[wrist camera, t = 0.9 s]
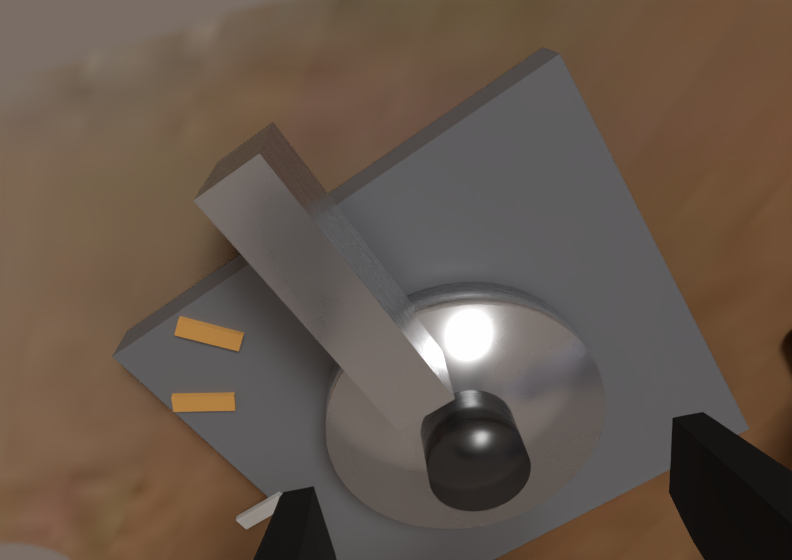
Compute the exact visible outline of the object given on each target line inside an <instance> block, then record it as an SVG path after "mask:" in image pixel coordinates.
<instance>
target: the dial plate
mask: <svg viewBox="0 0 792 560" xmlns="http://www.w3.org/2000/svg"><path fill="white" fill-rule="evenodd" d="M329 196H330V197H331V198H332V200H333V201H334V202H335V203H336V205H337V206H338V207H339V209H340V210H341V211H342V213H343V214H344V215H345V217H346V218H347V219H348V220H349V222H350V223H351V224H352V226H353V227H354V228H355V230H356V231H357V232H358V234H359V235H360V236H361V237H362V239H363V240H364V241H365V243H366V244H367V245H368V247H369V248H370V249H371V250H372V252H373V253H374V254H375V256H376V257H377V258H378V260H379V261H380V262H381V264H382V265H383V266H384V267H385V269H386V270H387V271H388V273H389V274H390V275H391V277H392V278H393V279H394V281H395V282H396V283H397V284H398V286H399V287H400V288H401V290H402V291H403V292H404V294H405V295H409V294H411V293H414V292H416V291H419V290H422V289H425V288H429V287H433V286H436V285H442V284H448V283H455V282H487V283H496V284H501V285H506V286H510V287H514V288H517V289H519V290H522V291H525V292H528V293H530V294H532V295H534V296H536V297H538V298H540V299H542V300H543V301H545V302H546V303H548V304H549V305H550V306H552V307H553V308H555V309H556V310H557V311H558V312H559V313H560V314H561V315H562V316H563V317H564V318H565V319H566V320H567V321H568V322H569V324H570V325H571V326H572V328H573V329H574V330H575V332H576V333H577V335H578V336H579V338H580V339H581V341H582V342H583V344H584V345H585V347H586V348H587V350H588V351H589V353H590V354H591V356H592V358H593V359H594V361H595V363H596V365H597V367H598V369H599V371H600V374H601V378H602V381H603V384H604V390H605V398H606V407H605V418H604V423H603V428H602V431H601V434H600V437H599V439H598V442H597V444H596V446H595V448H594V450H593V452H592V454H591V456H590V457H589V459H588V460H587V461H586V463H585V464H584V466H583V467H582V469H581V470H580V471H579V472H578V473H577V474H576V475H575V476H574V478H573V479H572V480H571V481H570V482H569V483H567V484H566V485H565V486H564V487H563V488H562V489H561V490H560V491H558V492H557V493H556V494H554V495H553V496H552V497H550V498H549V499H547V500H546V501H544V502H543V503H541V504H539V505H537V506H536V507H534V508H532V509H530V510H528V511H526V512H524V513H522V514H520V515H517V516H515V517H512V518H509V519H506V520H503V521H500V522H496V523H492V524H489V525H484V526H478V527H472V528H461V529H435V528H427V527H419V526H415V525H411V524H406V523H403V522H400V521H397V520H394V519H391V518H389V517H387V516H385V515H383V514H381V513H379V512H377V511H375V510H373V509H372V508H370V507H369V506H367V505H366V504H364V503H363V502H362V501H361V500H359V499H358V498H357V497H356V496H355V495H354V494H352V492H351V491H350V490H349V489H348V488H347V487H346V486H345V484H344V483H343V482H342V480H341V479H340V477H339V476H338V474H337V472H336V471H335V469H334V466H333V464H332V462H331V459H330V456H329V452H328V448H327V444H326V398H327V388H328V382H329V378H330V375H331V371H332V368H333V366H334V364H335V360H334V359H333V357H332V356H331V355H330V354H329V353H328V352H327V351H326V350H325V348H324V347H323V346H322V345H321V344H320V343H319V342H318V341H317V339H316V338H315V337H314V336H313V335H312V334H311V333H310V331H309V330H308V329H307V328H306V327H305V326H304V325H303V324H302V322H301V321H300V320H299V319H298V318H297V317H296V316H295V315H294V313H293V312H292V311H291V310H290V309H289V308H288V307H287V306H286V304H285V303H284V302H283V301H282V300H281V299H280V298H279V297H278V295H277V294H276V293H275V292H274V291H273V290H272V289H271V288H270V286H269V285H268V284H267V283H266V282H265V281H264V280H263V279H262V277H261V276H260V275H259V274H258V273H257V272H256V271H255V269H254V268H253V267H252V266H251V265H250V264H249V263H248V262H247V260H246V259H245V258H244V257H243V256H242V255H241V254H240V255H238V256H237V257H235V258H234V259H232V260H231V261H229V262H228V263H227V264H225V265H224V266H222V267H221V268H219V269H218V270H216V271H215V272H213V273H212V274H210V275H209V276H208V277H206V278H205V279H203V280H202V281H200V282H199V283H197V284H196V285H194V286H193V287H191V288H190V289H188V290H187V291H186V292H184V293H183V294H181V295H180V296H178V297H177V298H175V299H174V300H172V301H171V302H169V303H168V304H166V305H165V306H164V307H162V308H161V309H159V310H158V311H156V312H155V313H153V314H152V315H150V316H149V317H147V318H146V319H144V320H143V321H142V322H140V323H139V324H137V325H136V326H134V327H133V328H131V329H130V330H128V331H127V332H126V334H125V336H124V337H123V339H122V341H121V342H120V344H119V346H118V348H117V349H116V351H115V353H114V354H113V356H112V357H114V358H115V359H116V360H117V361H118V362H119V363H120V364H121V365H122V366H123V367H125V368H126V369H127V370H128V371H129V372H130V373H131V374H132V375H133V376H135V377H136V378H137V379H138V380H139V381H140V382H141V383H142V384H143V385H144V386H146V387H147V388H148V389H149V390H150V391H151V392H152V393H153V394H154V395H156V396H157V397H158V398H159V399H160V400H161V401H162V402H163V403H164V404H166V405H167V406H168V407H169V408H170V409H171V410H172V411H173V412H174V413H175V414H177V415H178V416H179V417H180V418H181V419H182V420H183V421H184V422H185V423H187V424H188V425H189V426H190V427H191V428H192V429H193V430H194V431H195V432H197V433H198V434H199V435H200V436H201V437H202V438H203V439H204V440H205V441H206V442H208V443H209V444H210V445H211V446H212V447H213V448H214V449H215V450H216V451H218V452H219V453H220V454H221V455H222V456H223V457H224V458H225V459H226V460H228V461H229V462H230V463H231V464H232V465H233V466H234V467H235V468H236V469H237V470H239V471H240V472H241V473H242V474H243V475H244V476H245V477H246V478H247V479H249V480H250V481H251V482H252V483H253V484H254V485H255V486H256V487H257V488H259V489H260V490H261V491H262V492H263V493H264V494H265V495H266V496H267V497H268V498H267V499H265V500H264V501H262V502H260V503H258V504H257V505H255V506H253V507H252V508H250V509H248V510H246V511H245V512H243V513H241V514H240V515H238V516H237V517H236V521H237V522H238V523H239V524H241V525H242V526H243V527H244V528H245V529H246V530H247V529H248V528H250V527H252V526H253V525H255V524H257V523H259V522H260V521H262V520H264V519H266V518H267V517H269V516H271V515H273V513H274V510H275V508H276V505H277V502H278V500H279V497H280V496H281V495H282V493H283V492H286V491H292V490H297V489H302V488H307V487H312V486H314V489H315V492H316V495H317V498H318V501H319V504H320V507H321V510H322V514H323V517H324V520H325V523H326V526H327V529H328V532H329V535H330V539H331V542H332V545H333V548H334V551H335V554H336V559H337V560H494V559H496V558H498V557H500V556H502V555H504V554H506V553H508V552H510V551H512V550H514V549H516V548H518V547H520V546H522V545H524V544H526V543H527V542H529V541H531V540H533V539H535V538H537V537H539V536H541V535H543V534H545V533H547V532H549V531H551V530H553V529H555V528H557V527H559V526H561V525H563V524H565V523H566V522H568V521H570V520H572V519H574V518H576V517H578V516H580V515H582V514H584V513H586V512H588V511H590V510H592V509H594V508H596V507H598V506H600V505H602V504H604V503H605V502H607V501H609V500H611V499H613V498H615V497H617V496H619V495H621V494H623V493H625V492H627V491H629V490H631V489H633V488H635V487H637V486H639V485H641V484H643V483H644V482H646V481H648V480H650V479H652V478H654V477H656V476H658V475H660V474H662V473H664V472H666V471H668V470H670V463H671V440H672V418H673V417H679V416H684V415H689V414H694V413H700V412H704V413H706V414H707V415H709V416H710V417H712V418H713V419H715V420H716V421H718V422H719V423H721V424H722V425H723V426H725V427H726V428H728V429H729V430H731V431H732V432H734V433H735V434H737V435H738V434H740V433H742V432H744V431H746V430H748V429H749V427H748V425H747V423H746V421H745V419H744V417H743V415H742V413H741V411H740V409H739V407H738V405H737V404H736V402H735V400H734V398H733V396H732V394H731V392H730V390H729V388H728V386H727V384H726V382H725V380H724V378H723V376H722V374H721V372H720V370H719V368H718V366H717V364H716V362H715V360H714V358H713V356H712V354H711V352H710V350H709V348H708V346H707V344H706V342H705V340H704V338H703V336H702V334H701V332H700V330H699V328H698V326H697V324H696V322H695V320H694V318H693V316H692V314H691V312H690V310H689V308H688V306H687V304H686V303H685V301H684V299H683V297H682V295H681V293H680V291H679V289H678V287H677V285H676V283H675V281H674V279H673V277H672V275H671V273H670V271H669V269H668V267H667V265H666V263H665V261H664V259H663V257H662V255H661V253H660V251H659V249H658V247H657V245H656V243H655V241H654V239H653V237H652V235H651V233H650V231H649V229H648V227H647V225H646V223H645V221H644V219H643V217H642V215H641V213H640V211H639V209H638V207H637V205H636V204H635V202H634V200H633V198H632V196H631V194H630V192H629V190H628V188H627V186H626V184H625V182H624V180H623V178H622V176H621V174H620V172H619V170H618V168H617V166H616V164H615V162H614V160H613V158H612V156H611V154H610V152H609V150H608V148H607V146H606V144H605V142H604V140H603V138H602V136H601V134H600V132H599V130H598V128H597V126H596V124H595V122H594V120H593V118H592V116H591V114H590V112H589V110H588V108H587V106H586V104H585V103H584V101H583V99H582V97H581V95H580V93H579V91H578V89H577V87H576V85H575V83H574V81H573V79H572V77H571V75H570V73H569V71H568V69H567V67H566V65H565V63H564V61H563V59H562V57H561V55H560V54H559V53H557V52H554V51H551V50H549V49H546V48H542V49H540V50H539V51H537V52H536V53H534V54H533V55H531V56H530V57H528V58H527V59H526V60H524V61H523V62H521V63H520V64H518V65H517V66H515V67H514V68H512V69H511V70H509V71H508V72H506V73H505V74H504V75H502V76H501V77H499V78H498V79H496V80H495V81H493V82H492V83H490V84H489V85H487V86H486V87H484V88H483V89H482V90H480V91H479V92H477V93H476V94H474V95H473V96H471V97H470V98H468V99H467V100H465V101H464V102H462V103H461V104H460V105H458V106H457V107H455V108H454V109H452V110H451V111H449V112H448V113H446V114H445V115H443V116H442V117H441V118H439V119H438V120H436V121H435V122H433V123H432V124H430V125H429V126H427V127H426V128H424V129H423V130H421V131H420V132H419V133H417V134H416V135H414V136H413V137H411V138H410V139H408V140H407V141H405V142H404V143H402V144H401V145H399V146H398V147H397V148H395V149H394V150H392V151H391V152H389V153H388V154H386V155H385V156H383V157H382V158H380V159H379V160H377V161H376V162H375V163H373V164H372V165H370V166H369V167H367V168H366V169H364V170H363V171H361V172H360V173H358V174H357V175H356V176H354V177H353V178H351V179H350V180H348V181H347V182H345V183H344V184H342V185H341V186H339V187H338V188H336V189H335V190H334V191H332V192H331V193H329Z"/></svg>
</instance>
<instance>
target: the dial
mask: <svg viewBox="0 0 792 560" xmlns="http://www.w3.org/2000/svg"><path fill="white" fill-rule="evenodd" d="M193 201H194V202H195V203H196V204H197V205H198V206H199V207H200V209H201V210H202V211H203V212H204V213H205V214H206V215H207V217H208V218H209V219H210V220H211V221H212V222H213V223H214V224H215V226H216V227H217V228H218V229H219V230H220V231H221V232H222V233H223V235H224V236H225V237H226V238H227V239H228V240H229V241H230V242H231V244H232V245H233V246H234V247H235V248H236V249H237V250H238V251H239V253H240V254H241V255H242V256H243V257H244V258H245V259H246V260H247V262H248V263H249V264H250V265H251V266H252V267H253V268H254V269H255V271H256V272H257V273H258V274H259V275H260V276H261V277H262V279H263V280H264V281H265V282H266V283H267V284H268V285H269V286H270V288H271V289H272V290H273V291H274V292H275V293H276V294H277V295H278V297H279V298H280V299H281V300H282V301H283V302H284V303H285V304H286V306H287V307H288V308H289V309H290V310H291V311H292V312H293V313H294V315H295V316H296V317H297V318H298V319H299V320H300V321H301V322H302V324H303V325H304V326H305V327H306V328H307V329H308V330H309V331H310V333H311V334H312V335H313V336H314V337H315V338H316V339H317V341H318V342H319V343H320V344H321V345H322V346H323V347H324V348H325V350H326V351H327V352H328V353H329V354H330V355H331V356H332V357H333V359H334V360H335V364H334V366H333V368H332V371H331V375H330V378H329V382H328V388H327V398H326V444H327V448H328V452H329V456H330V459H331V462H332V464H333V466H334V469H335V471H336V472H337V474H338V476H339V477H340V479H341V480H342V482H343V483H344V484H345V486H346V487H347V488H348V489H349V490H350V491H351V492H352V494H354V495H355V496H356V497H357V498H358V499H359V500H361V501H362V502H363V503H364V504H366V505H367V506H369V507H370V508H372V509H373V510H375V511H377V512H379V513H381V514H383V515H385V516H387V517H389V518H391V519H394V520H397V521H400V522H403V523H406V524H411V525H415V526H419V527H427V528H435V529H461V528H472V527H478V526H484V525H489V524H492V523H496V522H500V521H503V520H506V519H509V518H512V517H515V516H517V515H520V514H522V513H524V512H526V511H528V510H530V509H532V508H534V507H536V506H537V505H539V504H541V503H543V502H544V501H546V500H547V499H549V498H550V497H552V496H553V495H554V494H556V493H557V492H558V491H560V490H561V489H562V488H563V487H564V486H565V485H566V484H567V483H569V482H570V481H571V480H572V479H573V478H574V476H575V475H576V474H577V473H578V472H579V471H580V470H581V469H582V467H583V466H584V464H585V463H586V461H587V460H588V459H589V457H590V456H591V454H592V452H593V450H594V448H595V446H596V444H597V442H598V439H599V437H600V434H601V431H602V428H603V423H604V418H605V407H606V398H605V390H604V384H603V381H602V378H601V374H600V371H599V369H598V367H597V365H596V363H595V361H594V359H593V358H592V356H591V354H590V353H589V351H588V350H587V348H586V347H585V345H584V344H583V342H582V341H581V339H580V338H579V336H578V335H577V333H576V332H575V330H574V329H573V328H572V326H571V325H570V324H569V322H568V321H567V320H566V319H565V318H564V317H563V316H562V315H561V314H560V313H559V312H558V311H557V310H556V309H555V308H553V307H552V306H550V305H549V304H548V303H546V302H545V301H543V300H542V299H540V298H538V297H536V296H534V295H532V294H530V293H528V292H525V291H522V290H519V289H517V288H514V287H510V286H506V285H501V284H496V283H487V282H455V283H448V284H442V285H436V286H433V287H429V288H425V289H422V290H419V291H416V292H414V293H411V294H409V295H405V294H404V292H403V291H402V290H401V288H400V287H399V286H398V284H397V283H396V282H395V281H394V279H393V278H392V277H391V275H390V274H389V273H388V271H387V270H386V269H385V267H384V266H383V265H382V264H381V262H380V261H379V260H378V258H377V257H376V256H375V254H374V253H373V252H372V250H371V249H370V248H369V247H368V245H367V244H366V243H365V241H364V240H363V239H362V237H361V236H360V235H359V234H358V232H357V231H356V230H355V228H354V227H353V226H352V224H351V223H350V222H349V220H348V219H347V218H346V217H345V215H344V214H343V213H342V211H341V210H340V209H339V207H338V206H337V205H336V203H335V202H334V201H333V200H332V198H331V197H330V196H329V194H328V193H327V192H326V190H325V189H324V188H323V186H322V185H321V184H320V183H319V181H318V180H317V179H316V177H315V176H314V175H313V173H312V172H311V171H310V170H309V168H308V167H307V166H306V164H305V163H304V162H303V160H302V159H301V158H300V156H299V155H298V154H297V153H296V151H295V150H294V149H293V147H292V146H291V145H290V143H289V142H288V141H287V139H286V138H285V137H284V136H283V134H282V133H281V132H280V130H279V129H278V128H277V126H276V125H275V124H274V123H273V122H272V123H271V124H269V125H268V126H266V127H265V128H264V129H262V130H261V131H260V132H258V133H257V134H255V135H254V136H253V137H251V138H250V139H249V140H247V141H246V142H244V143H243V144H242V145H240V146H239V147H237V148H236V149H235V150H233V151H232V152H231V153H229V154H228V155H226V156H225V157H224V158H222V159H221V160H220V161H218V162H217V164H216V165H215V167H214V169H213V170H212V172H211V173H210V175H209V177H208V178H207V180H206V181H205V183H204V184H203V186H202V188H201V189H200V191H199V192H198V194H197V196H196V197H195V199H194V200H193Z"/></svg>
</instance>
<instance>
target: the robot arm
mask: <svg viewBox="0 0 792 560" xmlns="http://www.w3.org/2000/svg"><path fill="white" fill-rule="evenodd" d="M669 493H670V495H671V497H672V499H673V502H674V504H675V506H676V508H677V510H678V512H679V514H680V516H681V518H682V520H683V522H684V524H685V526H686V528H687V530H688V532H689V534H690V536H691V538H692V540H693V542H694V543H695V545H696V547H697V548H698V550H699V551H700V553H701V555H702V556H703V558H704V559H705V560H792V471H791V470H789V469H788V468H786V467H785V466H783V465H781V464H780V463H778V462H777V461H775V460H774V459H772V458H771V457H769V456H768V455H766V454H765V453H763V452H762V451H760V450H759V449H757V448H756V447H754V446H753V445H751V444H750V443H748V442H747V441H745V440H744V439H743V438H741V437H740V436H738V435H737V434H735V433H734V432H732V431H731V430H729V429H728V428H726V427H725V426H723V425H722V424H721V423H719V422H718V421H716V420H715V419H713V418H712V417H710V416H709V415H707V414H706V413H704V412H700V413H694V414H689V415H684V416H679V417H673V418H672V440H671V463H670V485H669ZM253 560H336V554H335V551H334V548H333V545H332V542H331V539H330V535H329V532H328V529H327V526H326V523H325V520H324V517H323V514H322V510H321V507H320V504H319V501H318V498H317V495H316V492H315V489H314V486H312V487H307V488H302V489H297V490H292V491H286V492H283V493H282V495H281V496H280V497H279V500H278V502H277V505H276V508H275V510H274V513H273V515H272V518H271V520H270V523H269V525H268V528H267V530H266V532H265V535H264V537H263V539H262V542H261V544H260V546H259V548H258V551H257V553H256V555H255V557H254V559H253Z"/></svg>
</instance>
